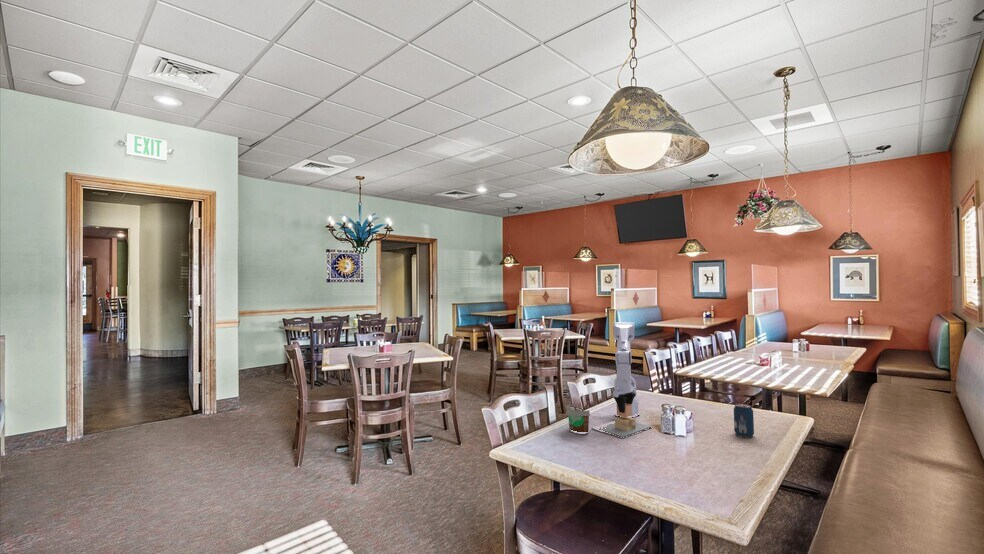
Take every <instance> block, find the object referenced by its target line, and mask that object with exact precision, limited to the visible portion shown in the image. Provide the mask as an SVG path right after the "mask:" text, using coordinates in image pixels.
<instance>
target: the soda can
mask: <svg viewBox="0 0 984 554" xmlns="http://www.w3.org/2000/svg"><path fill="white" fill-rule="evenodd" d="M754 419H755V418H754V409H753V408H752V405H750V404H747V403H735V404H734V407H733V429H734V430H733V431H734V433H735V435H736V436H737V435H738V437H740V436H741V438H745V437H750V438H752V437H753V436H754V434H755V424H754V423H755V422H754V421H755V420H754Z"/></svg>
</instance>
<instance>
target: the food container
mask: <svg viewBox="0 0 984 554" xmlns="http://www.w3.org/2000/svg"><path fill="white" fill-rule="evenodd" d="M566 414H567V415H568V416H567V417H568V425H569V430H570V429H571V430H573V431H577V432H588V433H589V425H590V424H589V421H590V419H589V417H590V416H591V413H590V410H588V409H587V410H583V408H582V407H581V408H580V407H576V406H574V404H573V403H572V404H569V405H567V407H566Z"/></svg>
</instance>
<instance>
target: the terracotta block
mask: <svg viewBox="0 0 984 554" xmlns="http://www.w3.org/2000/svg"><path fill="white" fill-rule="evenodd" d="M616 414H617V415H619V416H623V417H628V416H631V415H632V404H627V403H625V412H624V413H621V412H619V409H618V406H617V405H616Z"/></svg>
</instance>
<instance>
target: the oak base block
mask: <svg viewBox="0 0 984 554" xmlns="http://www.w3.org/2000/svg"><path fill="white" fill-rule="evenodd" d="M614 420H615V428H618V429H622V430H625V431H629V430H632V429H635V428H636V421H637V420H636V417H633V418H631V417H623V416H621V417H618V416H616V417H615V418H614Z"/></svg>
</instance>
